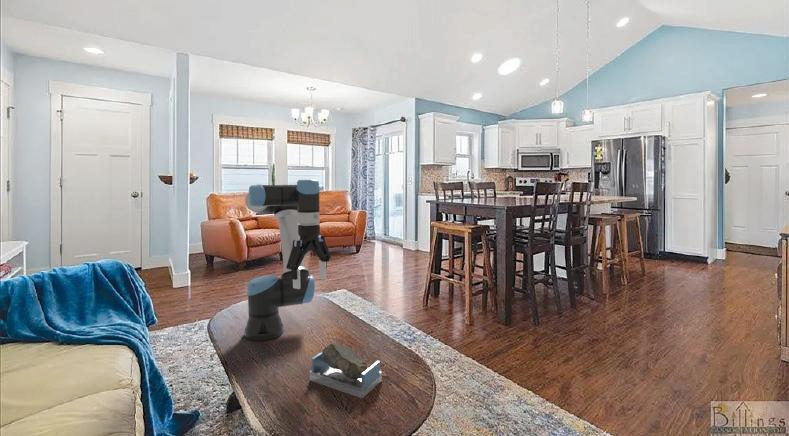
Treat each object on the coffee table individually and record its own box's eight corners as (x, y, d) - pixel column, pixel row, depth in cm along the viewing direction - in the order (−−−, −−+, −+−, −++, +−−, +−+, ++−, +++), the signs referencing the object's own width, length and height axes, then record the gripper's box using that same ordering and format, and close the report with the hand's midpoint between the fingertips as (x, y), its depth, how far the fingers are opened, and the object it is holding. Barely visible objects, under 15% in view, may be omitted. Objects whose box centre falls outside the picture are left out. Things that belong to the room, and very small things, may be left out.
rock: (377, 361, 122) (360, 366, 113) (369, 381, 122) (351, 388, 113) (337, 336, 130) (319, 339, 122) (330, 354, 130) (311, 359, 122)
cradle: (309, 380, 122) (309, 359, 121) (331, 365, 132) (331, 346, 131) (362, 398, 112) (361, 375, 112) (381, 380, 122) (381, 360, 121)
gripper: (291, 229, 121) (292, 294, 123) (339, 220, 143) (340, 276, 145) (273, 227, 125) (276, 291, 127) (323, 219, 146) (324, 274, 149)
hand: (310, 283), depth 136 cm, fingers open, 13 cm apart
